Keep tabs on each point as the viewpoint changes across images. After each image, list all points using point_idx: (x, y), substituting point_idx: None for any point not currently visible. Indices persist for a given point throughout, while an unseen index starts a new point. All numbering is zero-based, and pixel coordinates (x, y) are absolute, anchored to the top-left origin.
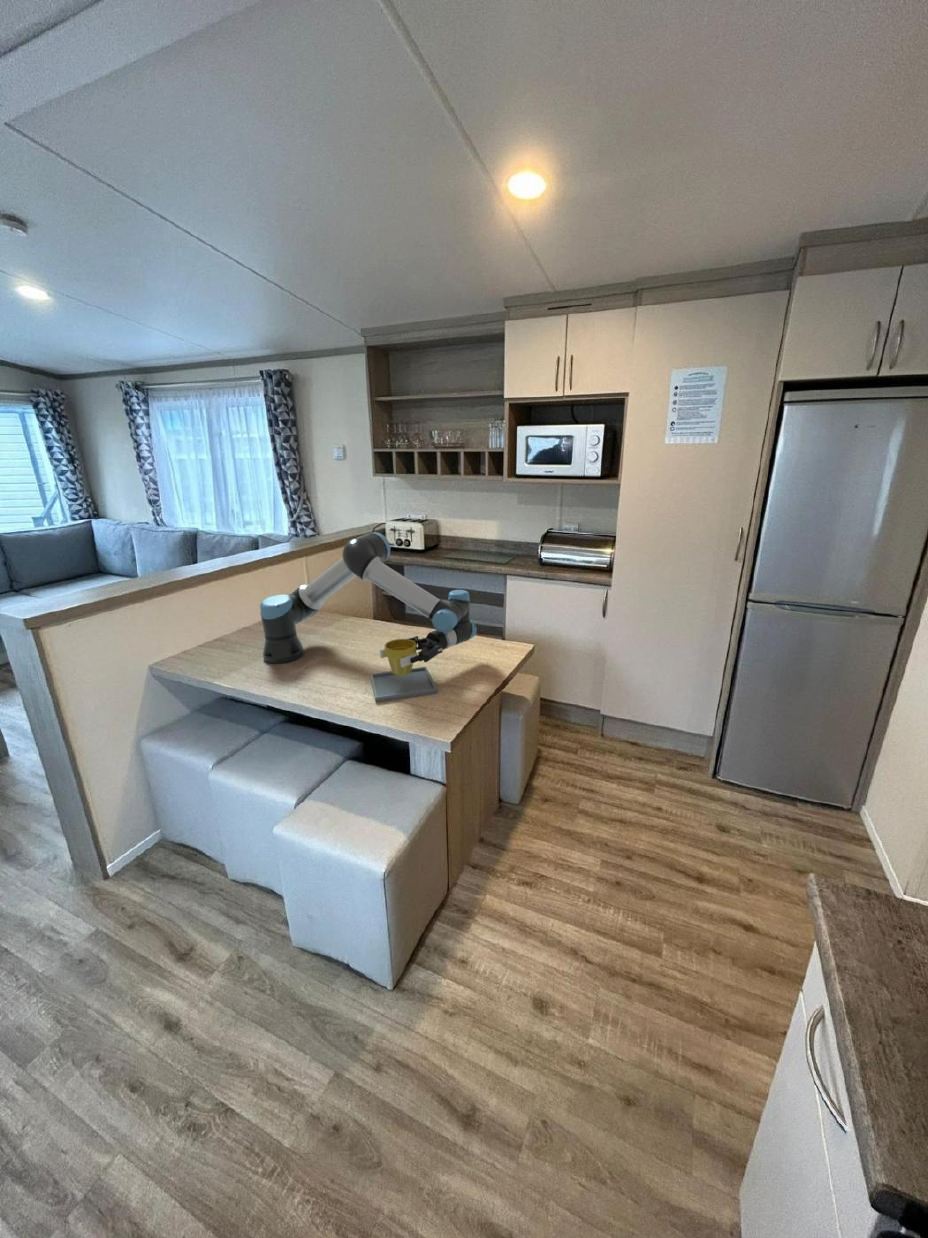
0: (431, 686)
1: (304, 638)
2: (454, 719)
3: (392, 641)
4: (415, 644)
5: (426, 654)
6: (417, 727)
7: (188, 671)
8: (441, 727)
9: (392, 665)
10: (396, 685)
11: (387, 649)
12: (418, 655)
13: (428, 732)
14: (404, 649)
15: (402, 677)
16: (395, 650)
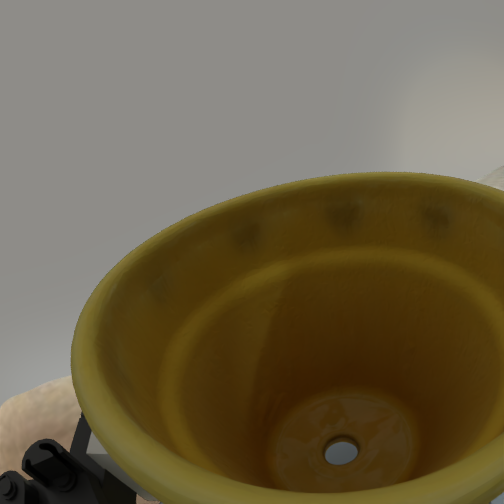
0: None
1: None
2: (3, 462)
3: (495, 203)
4: (98, 431)
5: (2, 500)
6: (61, 390)
7: (495, 171)
8: (17, 422)
9: (303, 342)
10: (335, 451)
11: (284, 191)
12: (93, 472)
13: (34, 394)
14: (486, 410)
15: None
16: (197, 213)
